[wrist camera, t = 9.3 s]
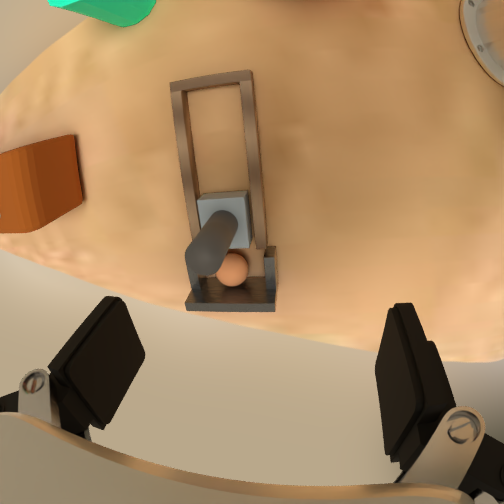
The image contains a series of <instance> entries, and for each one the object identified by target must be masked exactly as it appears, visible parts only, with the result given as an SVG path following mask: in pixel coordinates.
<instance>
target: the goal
mask: <svg viewBox="0 0 504 504" xmlns="http://www.w3.org/2000/svg"><path fill="white" fill-rule="evenodd" d="M185 261H186V260H185ZM186 265H187V263H186ZM264 266H265V277H246V279H245V280H244V282H242V283H241V284H239V285H237V286H227V285H224V284H223V283H221V282H220V281H219V280H218V278H217V277H215V278H206V276H204V275H199V274H197V273H195V272H194V271H192V270H191V269H190V268H189V266H188V265H187V270H188V275H189V279H190V284H191V288H192V290H191V292H190V294H189V296H188V298H187V299H186V301H185V306H186V310H187V311H213V312H275V310H276V300H277V290H278V275H277V259H276V246H271V247H267V248H266V249H265V254H264Z"/></svg>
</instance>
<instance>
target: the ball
mask: <svg viewBox="0 0 504 504" xmlns="http://www.w3.org/2000/svg"><path fill="white" fill-rule="evenodd" d="M247 275H248V264H247V262H246V260H245V259H244V258H243V257H242V256H240V255H238V254H235V253H229V254H226V256H225V258H224V261H223V263H222V265H221V267H220V269H219V270H218V271H217V272H216V276H217V278H218V280H219V281H220V282H221V283H223V284H224V285H227V286H237V285H239V284H241V283H242V282H244V280H245V279H246V277H247Z"/></svg>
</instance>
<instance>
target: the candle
mask: <svg viewBox="0 0 504 504" xmlns="http://www.w3.org/2000/svg"><path fill="white" fill-rule="evenodd" d="M48 2H49V4H50V6H54V7H58V8H62V9H66V10H69V11H73V12H76V13H80V14H83V15H86V16H89V17H93V18H96V19H99V20H102V21H105V22H108V23H110V24H113V25H117V26H121V27H127V26H131V25H134V24H137V23H139V22H140V21H141V20H142V19H144V18H145V17H146V16H148V15H149V13H150V12H151V10H152V8H153V7H154V5H155V3H156V0H48Z"/></svg>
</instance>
